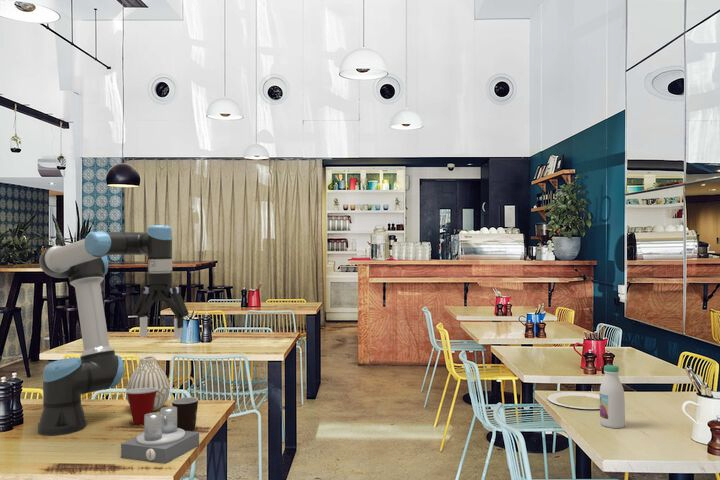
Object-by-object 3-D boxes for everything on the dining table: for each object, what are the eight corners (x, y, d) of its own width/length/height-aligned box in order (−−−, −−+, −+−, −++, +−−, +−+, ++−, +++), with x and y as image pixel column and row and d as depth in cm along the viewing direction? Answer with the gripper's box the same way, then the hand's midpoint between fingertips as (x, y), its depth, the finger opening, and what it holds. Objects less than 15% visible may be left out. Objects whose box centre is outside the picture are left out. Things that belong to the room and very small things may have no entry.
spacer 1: (140, 440, 169) (140, 416, 169) (152, 434, 174) (151, 411, 174) (154, 441, 167) (154, 417, 167) (165, 436, 172) (165, 413, 172)
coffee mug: (190, 434, 189) (190, 404, 189) (167, 433, 191) (166, 403, 191) (207, 424, 201) (206, 395, 201) (184, 423, 202) (184, 394, 202)
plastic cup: (161, 417, 210) (160, 384, 210) (154, 426, 199) (154, 391, 199) (130, 419, 208) (130, 386, 208) (122, 428, 197) (121, 393, 198)
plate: (566, 391, 241) (566, 388, 241) (627, 402, 222) (627, 399, 222) (535, 402, 224) (535, 399, 224) (598, 415, 205) (598, 412, 205)
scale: (119, 457, 169) (119, 440, 169) (157, 440, 184) (157, 424, 184) (164, 464, 163) (164, 446, 163) (199, 445, 179) (199, 429, 179)
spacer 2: (156, 432, 176) (156, 410, 176) (167, 428, 180) (166, 405, 180) (170, 434, 174) (170, 411, 174) (180, 429, 179) (180, 406, 179)
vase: (119, 409, 221) (119, 357, 222) (159, 401, 232) (159, 352, 233) (135, 417, 210) (135, 363, 210) (176, 409, 220) (176, 357, 221)
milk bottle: (625, 423, 195) (623, 364, 195) (625, 430, 188) (623, 368, 188) (600, 420, 198) (599, 363, 198) (599, 427, 191) (598, 367, 191)
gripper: (121, 272, 188) (121, 337, 187) (184, 272, 179) (185, 340, 179) (137, 272, 195) (137, 334, 194) (199, 271, 186) (199, 337, 186)
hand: (160, 337), depth 187 cm, fingers open, 13 cm apart
